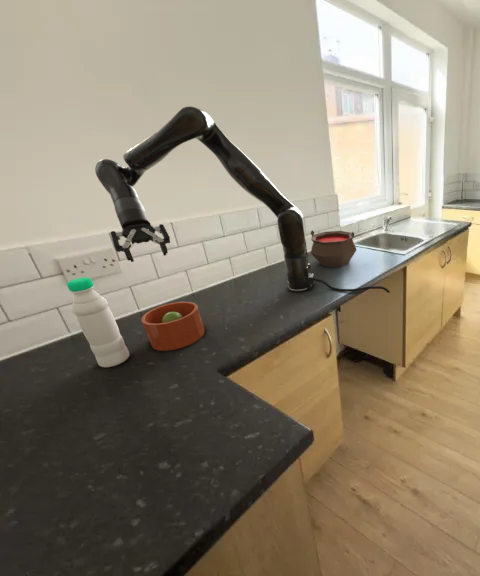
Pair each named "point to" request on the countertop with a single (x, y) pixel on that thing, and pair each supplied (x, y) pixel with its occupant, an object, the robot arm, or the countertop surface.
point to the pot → (173, 326)
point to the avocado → (171, 317)
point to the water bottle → (97, 323)
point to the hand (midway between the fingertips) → (149, 257)
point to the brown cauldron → (333, 247)
